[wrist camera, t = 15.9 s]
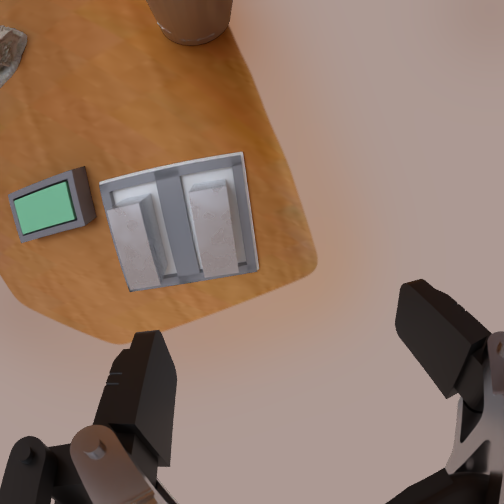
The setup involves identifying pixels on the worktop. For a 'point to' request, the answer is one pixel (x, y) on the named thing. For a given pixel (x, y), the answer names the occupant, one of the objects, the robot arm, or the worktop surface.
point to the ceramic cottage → (10, 51)
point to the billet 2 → (213, 228)
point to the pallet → (188, 212)
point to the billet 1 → (138, 241)
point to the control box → (79, 197)
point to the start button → (45, 208)
